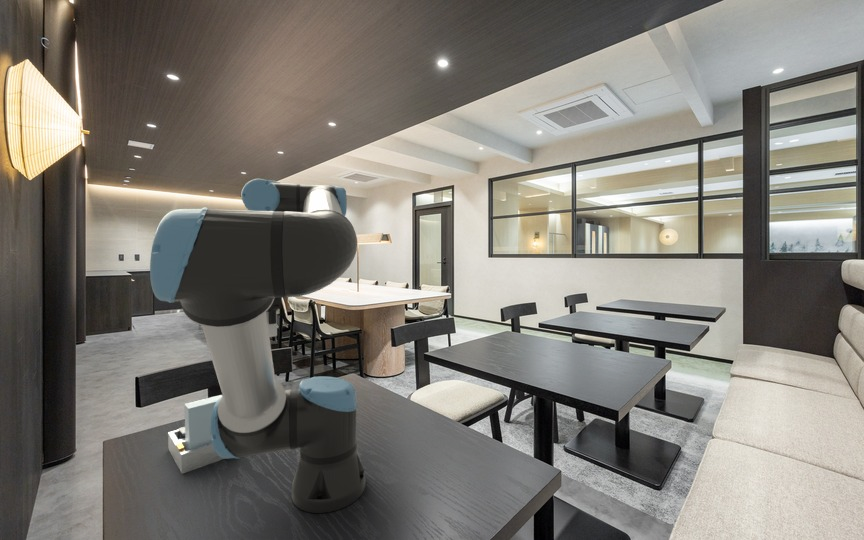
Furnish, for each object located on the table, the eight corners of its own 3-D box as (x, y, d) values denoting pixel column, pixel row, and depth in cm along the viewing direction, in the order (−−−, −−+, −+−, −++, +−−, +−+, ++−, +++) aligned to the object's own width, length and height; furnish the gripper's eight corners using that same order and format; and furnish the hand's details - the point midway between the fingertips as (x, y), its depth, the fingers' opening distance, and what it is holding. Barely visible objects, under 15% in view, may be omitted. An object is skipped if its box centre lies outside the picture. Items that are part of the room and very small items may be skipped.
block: (227, 446, 92) (226, 399, 91) (189, 458, 86) (188, 408, 86) (222, 440, 95) (221, 394, 94) (185, 452, 89) (184, 403, 88)
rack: (238, 453, 92) (237, 432, 92) (181, 473, 84) (181, 450, 83) (220, 433, 103) (219, 414, 103) (168, 449, 94) (167, 428, 94)
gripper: (294, 243, 90) (296, 337, 91) (273, 244, 99) (275, 330, 100) (263, 242, 85) (265, 343, 86) (243, 243, 94) (245, 334, 95)
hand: (270, 336), depth 93 cm, fingers closed
